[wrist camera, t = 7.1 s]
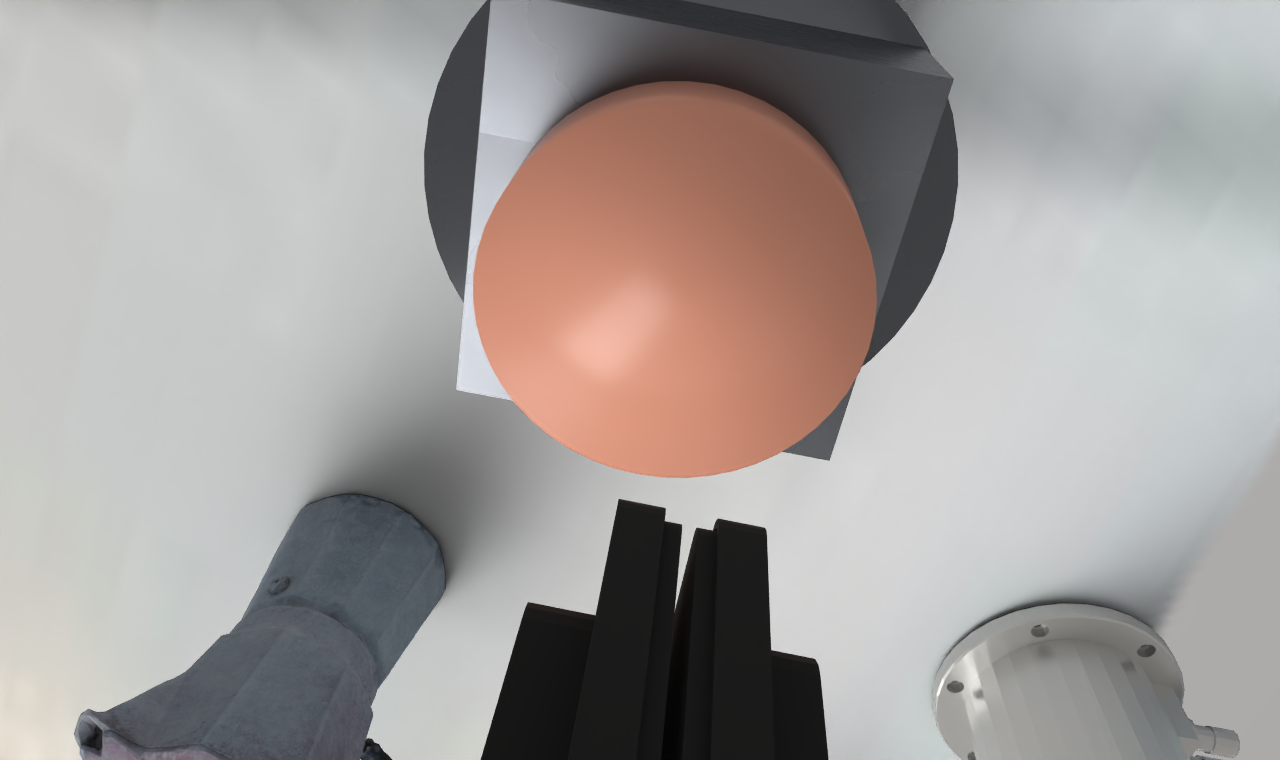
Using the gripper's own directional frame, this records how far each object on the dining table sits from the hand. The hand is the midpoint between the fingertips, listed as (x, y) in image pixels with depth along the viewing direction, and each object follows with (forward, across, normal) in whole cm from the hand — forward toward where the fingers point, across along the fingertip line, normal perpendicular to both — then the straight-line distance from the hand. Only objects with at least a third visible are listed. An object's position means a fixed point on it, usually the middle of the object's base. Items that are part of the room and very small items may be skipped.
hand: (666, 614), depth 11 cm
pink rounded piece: (+13, +1, -1) cm, 13 cm away
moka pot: (+31, +13, +28) cm, 44 cm away
